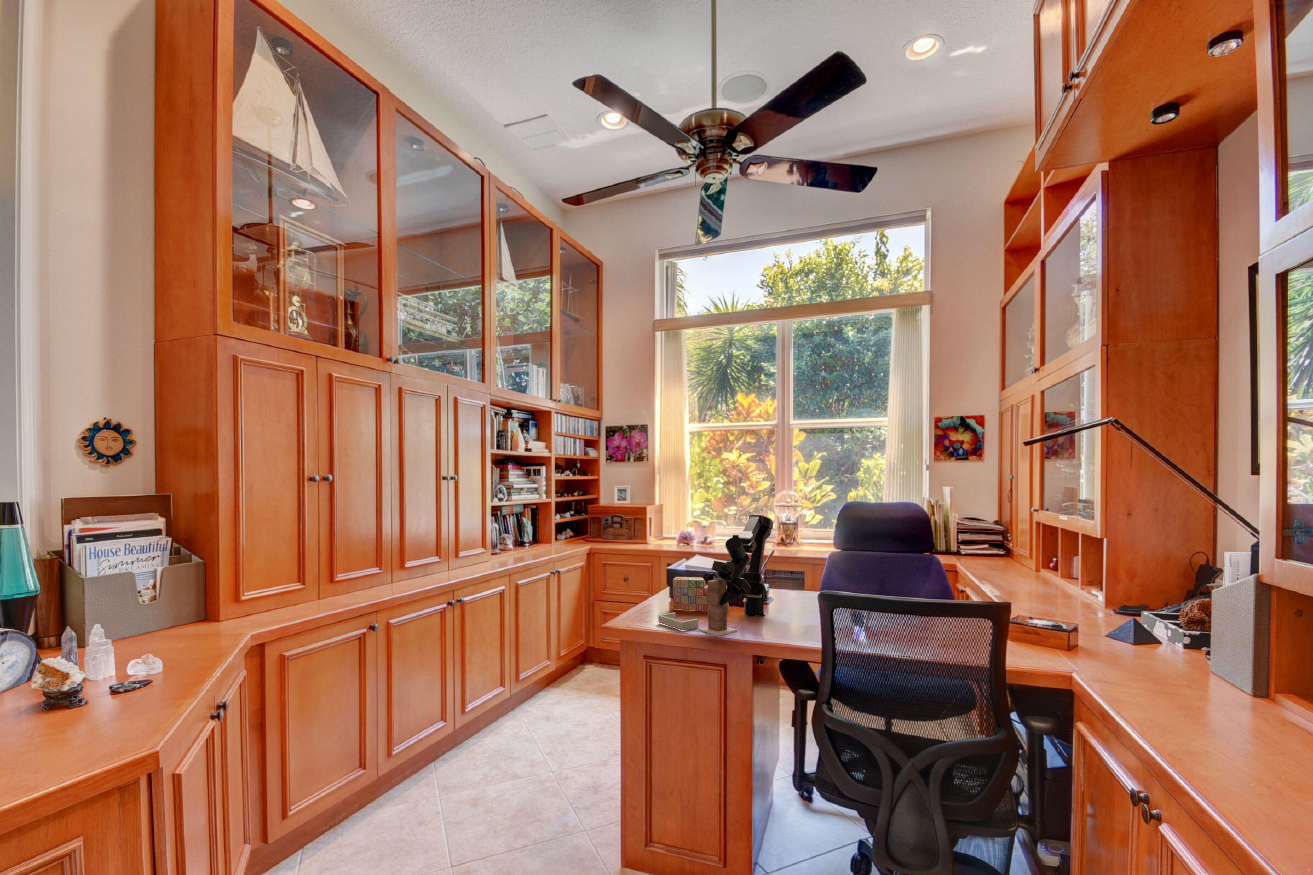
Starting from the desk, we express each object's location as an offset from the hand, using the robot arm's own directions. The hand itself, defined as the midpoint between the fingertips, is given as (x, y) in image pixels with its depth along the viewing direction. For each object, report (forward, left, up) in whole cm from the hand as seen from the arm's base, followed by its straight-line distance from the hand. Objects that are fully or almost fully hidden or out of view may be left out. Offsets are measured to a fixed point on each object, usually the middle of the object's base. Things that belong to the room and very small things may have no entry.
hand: (714, 603), depth 192 cm
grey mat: (-1, -1, -9) cm, 9 cm away
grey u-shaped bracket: (+11, -9, -9) cm, 17 cm away
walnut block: (-1, -1, -9) cm, 9 cm away
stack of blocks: (0, -32, -10) cm, 33 cm away
